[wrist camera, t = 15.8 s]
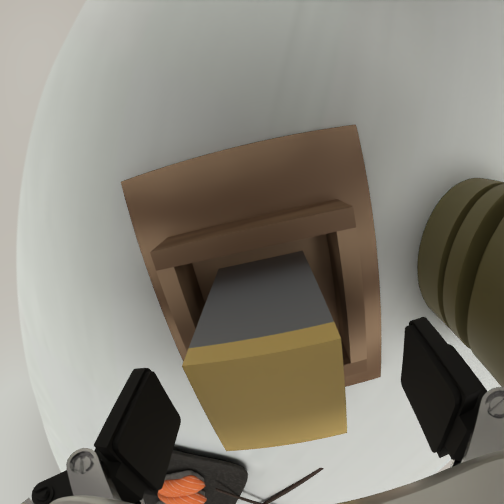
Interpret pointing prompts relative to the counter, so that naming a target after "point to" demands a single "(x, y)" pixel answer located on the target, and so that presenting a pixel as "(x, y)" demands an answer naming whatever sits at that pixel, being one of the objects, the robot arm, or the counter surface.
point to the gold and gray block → (268, 356)
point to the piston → (468, 268)
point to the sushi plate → (206, 482)
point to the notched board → (266, 230)
